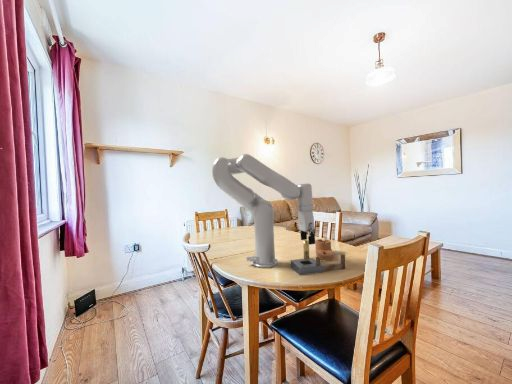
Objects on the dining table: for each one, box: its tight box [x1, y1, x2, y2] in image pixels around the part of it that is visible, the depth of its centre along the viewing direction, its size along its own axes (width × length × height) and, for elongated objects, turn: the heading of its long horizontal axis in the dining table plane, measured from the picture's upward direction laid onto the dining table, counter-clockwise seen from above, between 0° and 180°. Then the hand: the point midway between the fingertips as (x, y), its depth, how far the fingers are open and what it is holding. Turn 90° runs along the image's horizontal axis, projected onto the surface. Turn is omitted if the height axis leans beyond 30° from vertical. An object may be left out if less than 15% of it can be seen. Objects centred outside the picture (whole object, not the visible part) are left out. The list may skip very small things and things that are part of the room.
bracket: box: [314, 238, 335, 262], centre depth 125 cm, size 18×8×7 cm, turn 170°
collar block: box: [290, 257, 324, 276], centre depth 106 cm, size 11×11×3 cm
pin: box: [302, 239, 311, 259], centre depth 118 cm, size 3×3×10 cm
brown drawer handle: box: [315, 254, 347, 272], centre depth 104 cm, size 14×2×6 cm, turn 101°
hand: (307, 241), depth 118 cm, fingers open, 9 cm apart
